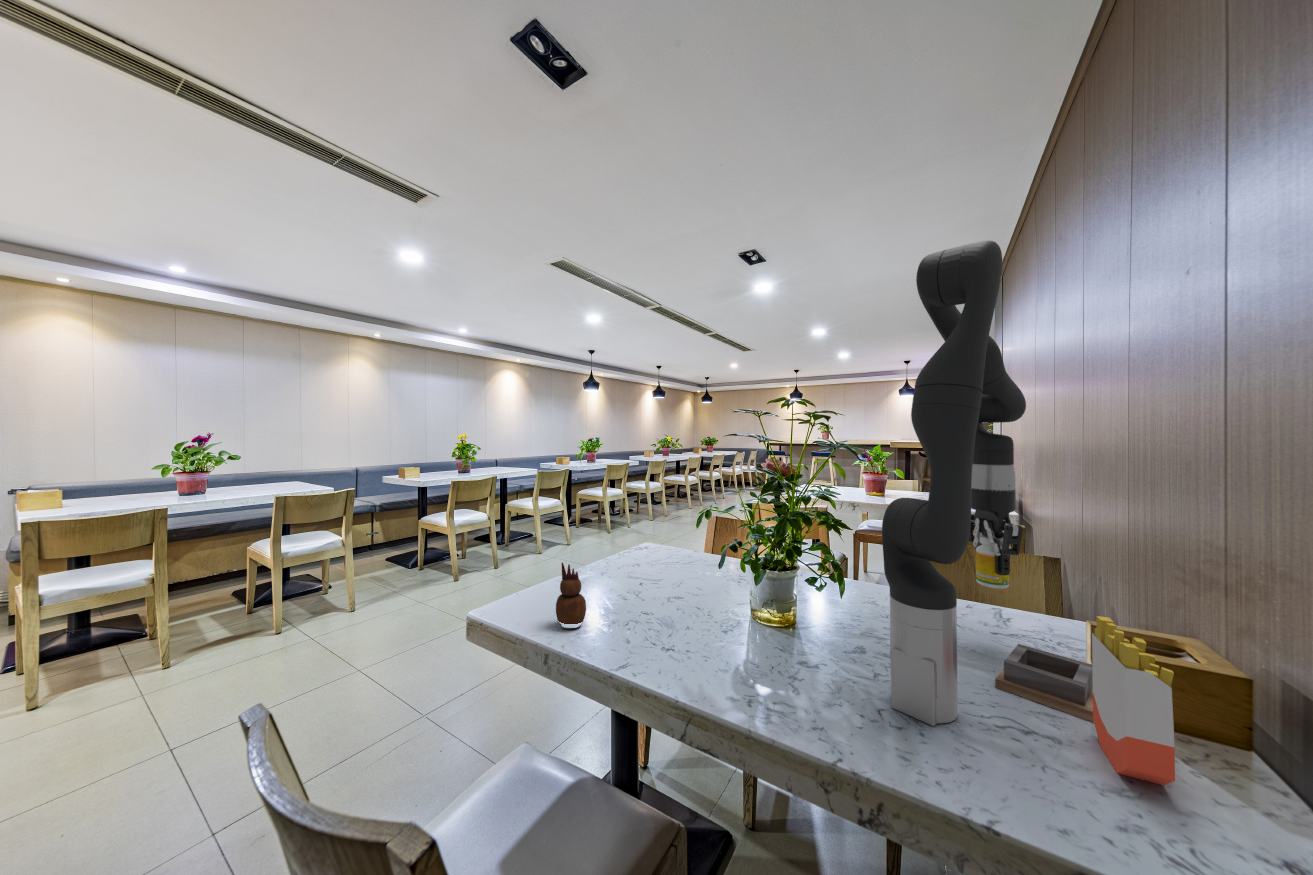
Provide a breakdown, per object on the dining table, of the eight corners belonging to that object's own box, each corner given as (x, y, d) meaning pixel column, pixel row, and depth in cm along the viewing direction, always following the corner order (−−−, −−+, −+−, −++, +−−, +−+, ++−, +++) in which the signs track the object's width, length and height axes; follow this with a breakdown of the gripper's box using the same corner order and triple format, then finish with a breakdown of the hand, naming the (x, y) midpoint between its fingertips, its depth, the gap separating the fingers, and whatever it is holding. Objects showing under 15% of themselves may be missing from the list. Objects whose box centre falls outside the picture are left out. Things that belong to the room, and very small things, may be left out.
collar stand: (1093, 721, 66) (1092, 692, 66) (995, 687, 75) (995, 661, 75) (1103, 691, 74) (1102, 665, 74) (1013, 663, 83) (1012, 640, 83)
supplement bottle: (978, 578, 92) (978, 533, 92) (1011, 584, 89) (1011, 537, 89) (973, 584, 89) (973, 537, 89) (1006, 591, 85) (1006, 541, 85)
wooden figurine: (551, 630, 100) (550, 564, 100) (564, 619, 106) (563, 557, 106) (578, 633, 98) (577, 566, 98) (589, 622, 104) (589, 559, 104)
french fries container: (1136, 745, 61) (1135, 616, 61) (1180, 802, 52) (1178, 650, 52) (1092, 734, 63) (1091, 610, 63) (1125, 787, 54) (1124, 642, 54)
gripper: (1039, 491, 81) (1039, 582, 81) (988, 482, 95) (988, 560, 95) (995, 490, 82) (996, 581, 82) (951, 482, 96) (952, 559, 96)
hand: (992, 569), depth 89 cm, fingers closed on supplement bottle, 5 cm apart
